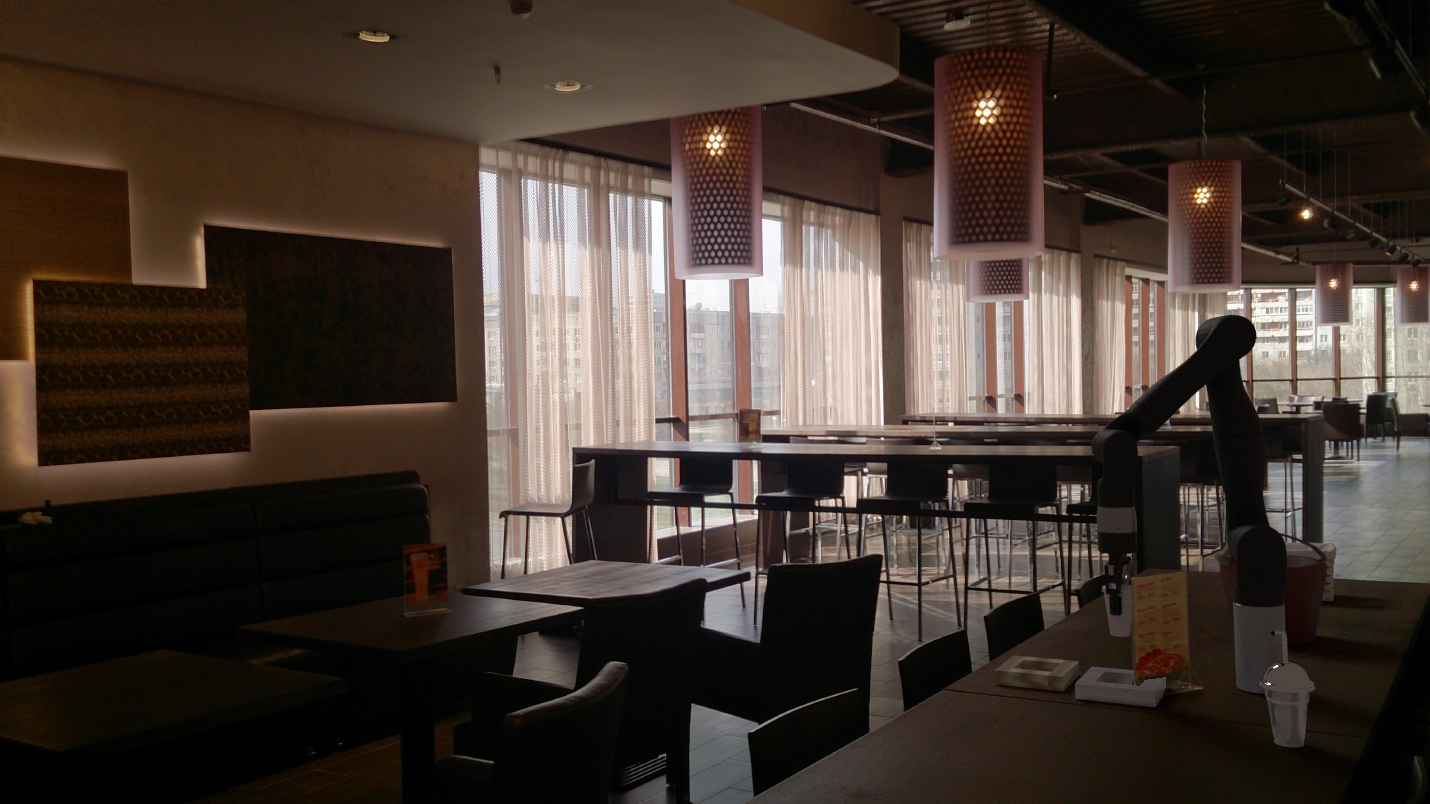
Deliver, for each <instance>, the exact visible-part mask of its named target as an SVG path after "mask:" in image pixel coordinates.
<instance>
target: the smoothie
mask: <svg viewBox="0 0 1430 804" xmlns="http://www.w3.org/2000/svg"><path fill="white" fill-rule="evenodd" d="M1131 586H1132V584H1131V585H1124V586H1123V587H1122V614H1121V615H1120V616H1117V615H1111V614H1110V600H1109V596H1108V594H1106V585H1105V584H1104V585H1102V588H1101V589H1102V590H1101V592H1103V593H1104V595H1103V596H1104V601H1105V609H1106V613H1107V614H1106V615H1107V621H1108V627H1109V632H1110V636H1113V637H1116V638H1117V637H1119V638H1127V637H1130V636H1131V630H1132V619H1133V610H1132V597H1131ZM1112 588H1113V589H1116V585H1113V586H1112Z"/></svg>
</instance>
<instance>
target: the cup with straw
mask: <svg viewBox="0 0 1430 804" xmlns="http://www.w3.org/2000/svg"><path fill="white" fill-rule="evenodd" d="M1271 635H1282V638H1283V662H1277V663H1275V664H1273V665H1271V666H1270V667H1269V668H1268V669H1267V671H1266V673H1265V675H1264V677H1262V678H1261V679H1260V683H1259V685H1260V686H1261V687H1263V688H1264V689H1265V694H1264V696H1265V698H1266V701H1267V704H1268V710H1269V711H1268V712H1269V717H1270V724H1271V730H1272V735H1273V739H1274V740H1273V742H1274V744H1276V745H1278V746H1281V747H1286V748H1302V747H1304V746H1305V743H1304V741H1305V738H1306V730H1307V729H1306V728H1307V717H1308V705H1309V703H1310V698H1311V692H1314V691H1315V690H1316V686H1315V683H1314V682H1313V681H1312V680H1310V677H1309V676H1308V673H1307V672H1306V670H1305V669H1304V668H1303V667H1302V666H1300V665H1299V664H1297V663H1294V662H1291V661H1289V658H1288V657H1289V655H1288V653H1289V652H1288V645H1287V635H1286V633H1285V632H1284V631H1272V632H1271Z"/></svg>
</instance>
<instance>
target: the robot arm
mask: <svg viewBox="0 0 1430 804" xmlns="http://www.w3.org/2000/svg"><path fill="white" fill-rule="evenodd" d="M1257 335H1258V334H1257V330H1256V327H1255V324H1253V322H1252V321H1251V320H1250V319H1248V317H1245V316H1242V315H1241V314H1224V315H1219V316H1215V317H1211V318H1208V319H1206V320H1205V321H1203V322H1202V323H1200V325H1199V326H1198V328H1197V330H1196V333H1195V342H1194V343H1195V347H1196V349H1195V351H1194V352H1193V353H1192V354H1191V355H1190V356H1189V357H1188V358H1187V359H1185V361H1183V362H1182V363H1181V364H1180V365H1178V366H1177V367H1175V369H1174V368H1173V370H1172V371H1170V372H1169V373H1167V374H1166V375H1165V376H1163V377H1162V378H1160V379H1159V380H1157V381H1156V382H1155V383H1154V384H1152V385H1151V386H1150V387H1149V388H1148V389H1146V390H1145V391H1144V392H1143V394H1141V395H1140V396H1139V397H1138V398H1137V399H1136V400H1135V401H1134V402H1133V403H1132V404H1131V405H1130V406H1129V408H1127V409H1126V410H1125V411H1124V412H1122V413H1121V414H1119V415H1118V416H1116V418H1114V419H1112V420H1111V421H1110V422H1107V424H1106V425H1105V426H1103V427H1102V428H1101V429H1100V430H1099V431H1098V432H1097V433H1096V434H1095V435H1094V437H1093V439H1092V441H1091V445H1090V448H1091V453H1092V455H1093V457H1094V458H1095V459H1096V460H1097V461H1099V462H1101V463H1103V464H1102V465H1103V466H1102V477H1101V478H1099V480H1098V481H1097V487H1096V492H1097V494H1096V495H1097V513H1096V533H1097V535H1096V537H1097V550H1098V552H1099V553H1101V554H1106V555H1108V561H1107V562H1106V563H1105V564H1104V567H1103V570H1104V581H1105V584H1104V585H1106V594H1108V596H1109V600H1110V614H1111V615H1117V616H1120V615H1121V614H1122V587H1123V586H1124V585H1131V586H1132V584H1131V582H1132V557H1131V556H1130V555H1132V554H1135V553H1137V552H1138V527H1137V525H1138V523H1137V522H1138V519H1137V514H1136V506H1135V501H1136V500H1135V487H1134V486H1135V485H1134V484H1135V479H1136V475H1137V468H1138V462H1139V447H1138V442H1139V441H1141V440H1142V439H1143V438H1145V437H1147V436H1151V435H1153V434H1154V433H1156V432H1157V431H1158V430H1160V429H1161V427H1163V426H1164V424H1166V422H1168V421H1169V420H1170V419H1171V417H1172V416H1174V415H1175V414H1176V413H1177V412H1178V411H1179V410H1180V409H1182V407H1183V406H1185V404H1187V402H1189V400H1190V399H1191V398H1193V397H1194V396H1195V395H1196V394H1197V393H1198V392H1199V391H1200V390H1202V388H1203V387H1206V393H1207V401H1208V410H1209V416H1210V421H1211V422H1210V423H1211V429H1212V437H1213V444H1214V452H1215V457H1216V461H1217V467H1218V472H1219V478H1220V481H1221V487H1222V491H1223V496H1224V501H1225V513H1226V514H1225V516H1226V542H1227V544H1228V549H1229V551H1230V555H1232V556H1233V558H1234V559H1235V560H1236V561H1237V582H1236V586H1235V587H1234V589H1233V601H1234V602H1233V608H1234V628H1233V632H1234V655H1235V656H1234V659H1235V662H1234V663H1235V679H1236V680H1235V681H1236V682H1235V683H1236V685H1235V686H1236V687H1237V688H1236V689H1238V690H1240V691H1244V692H1248V693H1253V694H1261V695H1265V689H1264V688H1263V687H1261V686H1260V685H1259V683H1260V679H1261V678H1262V677H1264V675H1265V673H1266V671H1267V669H1268V668H1269V667H1270V666H1271V665H1273V664H1275V663H1277V662H1283V638H1282V635H1271V632H1272V631H1284V632H1285V607H1284V596H1285V592H1286V589H1287V551H1286V545H1285V543H1286V542H1285V539H1284V536H1282V535H1281V534H1280V533H1281V532H1279V531H1278V530H1277V529H1276V528H1274V527H1271V525H1270V521H1269V518H1268V515H1267V510H1266V505H1265V499H1264V487H1265V486H1264V485H1265V477H1266V469H1267V449H1266V442H1265V436H1264V429H1263V425H1262V421H1261V418H1260V416H1259V413H1258V412H1257V409H1256V407H1255V406H1254V404H1253V401H1252V400H1251V398H1250V396H1249V395H1248V392H1247V390H1246V387H1245V385H1244V382H1243V377H1242V370H1241V362H1240V361H1241V359H1242V358H1243V359H1244V357H1246V356H1247V355H1248V354H1250V352H1251V351H1252V350H1253V348H1254V347H1255V346H1256V345H1255V344H1256V342H1257ZM1128 555H1129V556H1128ZM1113 585H1116V589H1113V588H1112V586H1113Z"/></svg>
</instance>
